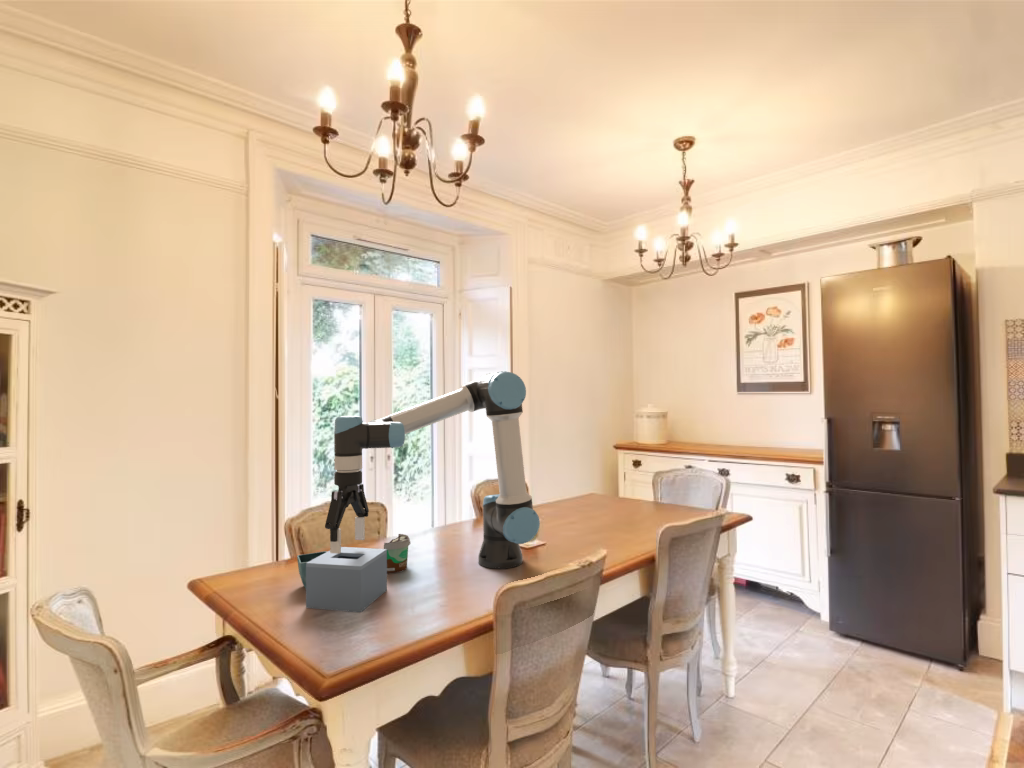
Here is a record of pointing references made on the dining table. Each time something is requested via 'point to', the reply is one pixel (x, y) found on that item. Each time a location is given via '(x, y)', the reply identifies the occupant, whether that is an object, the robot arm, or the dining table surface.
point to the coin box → (346, 579)
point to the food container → (397, 553)
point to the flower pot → (302, 564)
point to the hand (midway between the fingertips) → (348, 546)
